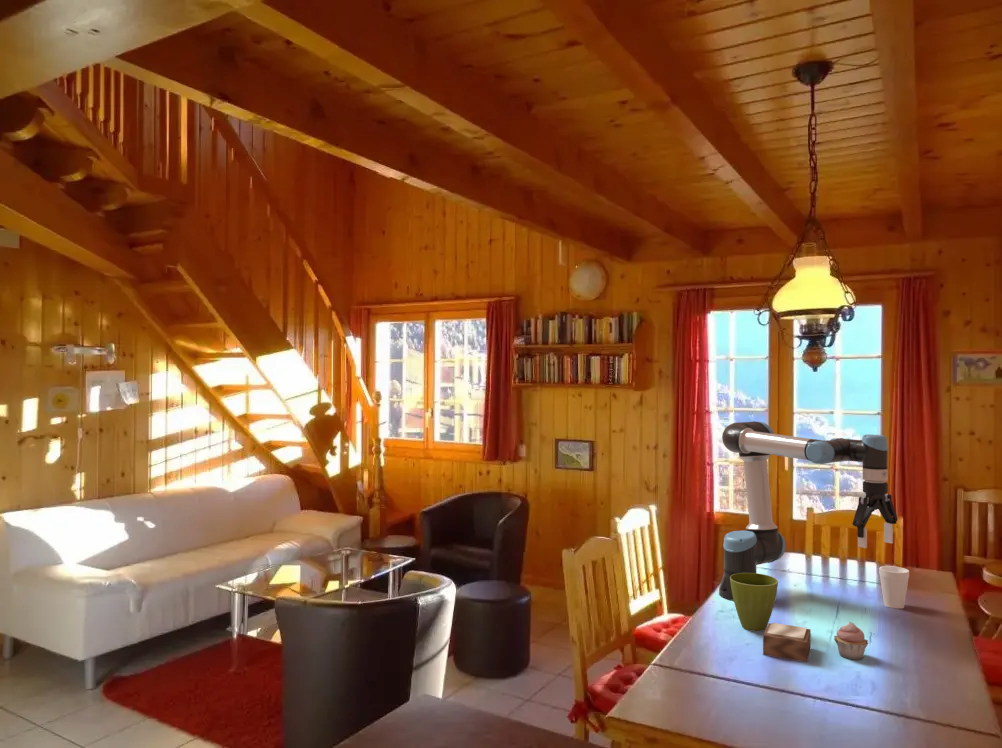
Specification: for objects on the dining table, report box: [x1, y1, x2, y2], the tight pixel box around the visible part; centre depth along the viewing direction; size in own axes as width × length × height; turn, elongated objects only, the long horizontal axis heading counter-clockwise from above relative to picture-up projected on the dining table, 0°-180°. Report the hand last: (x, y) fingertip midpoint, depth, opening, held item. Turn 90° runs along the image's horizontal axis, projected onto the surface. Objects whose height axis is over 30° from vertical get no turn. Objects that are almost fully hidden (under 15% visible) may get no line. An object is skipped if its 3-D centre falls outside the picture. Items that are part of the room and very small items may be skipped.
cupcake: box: [833, 621, 869, 660], centre depth 216 cm, size 9×9×10 cm
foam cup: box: [878, 565, 910, 610], centre depth 262 cm, size 10×9×13 cm
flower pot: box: [730, 572, 779, 632], centre depth 240 cm, size 15×15×16 cm
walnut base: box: [762, 622, 812, 663], centre depth 219 cm, size 12×12×6 cm
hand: (875, 545), depth 245 cm, fingers open, 13 cm apart
